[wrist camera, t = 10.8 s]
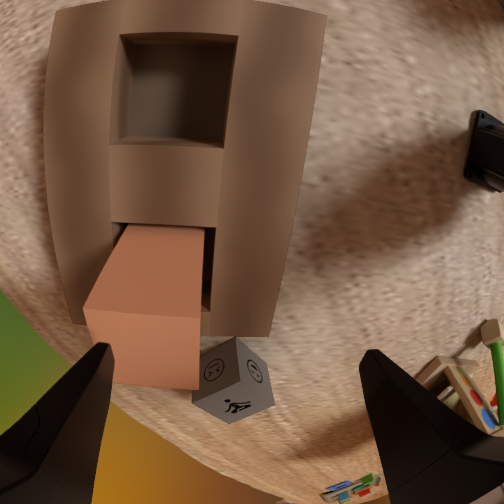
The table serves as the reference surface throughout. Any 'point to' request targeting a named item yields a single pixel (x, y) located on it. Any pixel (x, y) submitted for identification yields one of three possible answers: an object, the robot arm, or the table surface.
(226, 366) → the dice cube
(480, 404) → the pounding bench toy
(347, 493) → the shape sorter
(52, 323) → the table surface
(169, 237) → the pin
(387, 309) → the table surface
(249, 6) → the socket block
